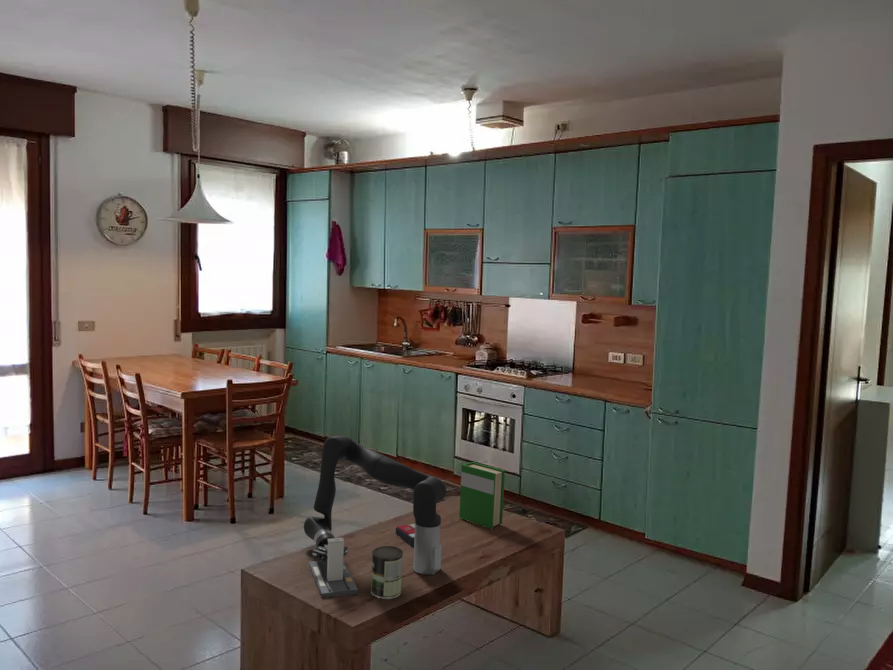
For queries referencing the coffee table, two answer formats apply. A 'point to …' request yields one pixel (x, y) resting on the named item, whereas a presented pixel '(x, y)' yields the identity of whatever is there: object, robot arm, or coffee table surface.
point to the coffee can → (386, 572)
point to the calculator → (406, 533)
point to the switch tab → (335, 559)
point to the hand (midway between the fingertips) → (334, 561)
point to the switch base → (332, 587)
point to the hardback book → (482, 494)
